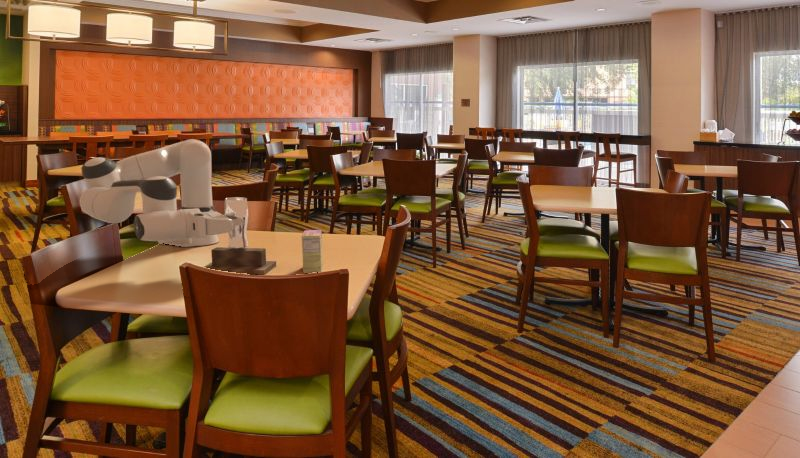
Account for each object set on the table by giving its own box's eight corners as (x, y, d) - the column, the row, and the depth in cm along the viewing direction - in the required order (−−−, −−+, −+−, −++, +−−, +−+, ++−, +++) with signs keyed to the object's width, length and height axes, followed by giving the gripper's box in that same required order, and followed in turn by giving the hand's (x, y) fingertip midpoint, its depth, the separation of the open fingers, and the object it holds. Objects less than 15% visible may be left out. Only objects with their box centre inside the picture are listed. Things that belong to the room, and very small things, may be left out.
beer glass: (233, 243, 196) (231, 196, 193) (253, 244, 194) (251, 197, 191) (222, 248, 189) (219, 200, 186) (242, 249, 188) (240, 201, 184)
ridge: (200, 273, 188) (199, 252, 187) (216, 264, 200) (215, 244, 199) (264, 275, 186) (263, 254, 185) (276, 265, 198) (275, 245, 197)
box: (304, 266, 198) (303, 229, 195) (322, 265, 198) (321, 229, 196) (302, 274, 187) (301, 236, 185) (321, 273, 188) (320, 235, 186)
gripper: (187, 228, 193) (231, 224, 200) (201, 239, 176) (249, 234, 182) (186, 208, 192) (230, 205, 199) (200, 217, 175) (248, 213, 181)
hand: (239, 219), depth 190 cm, fingers closed on beer glass, 7 cm apart
